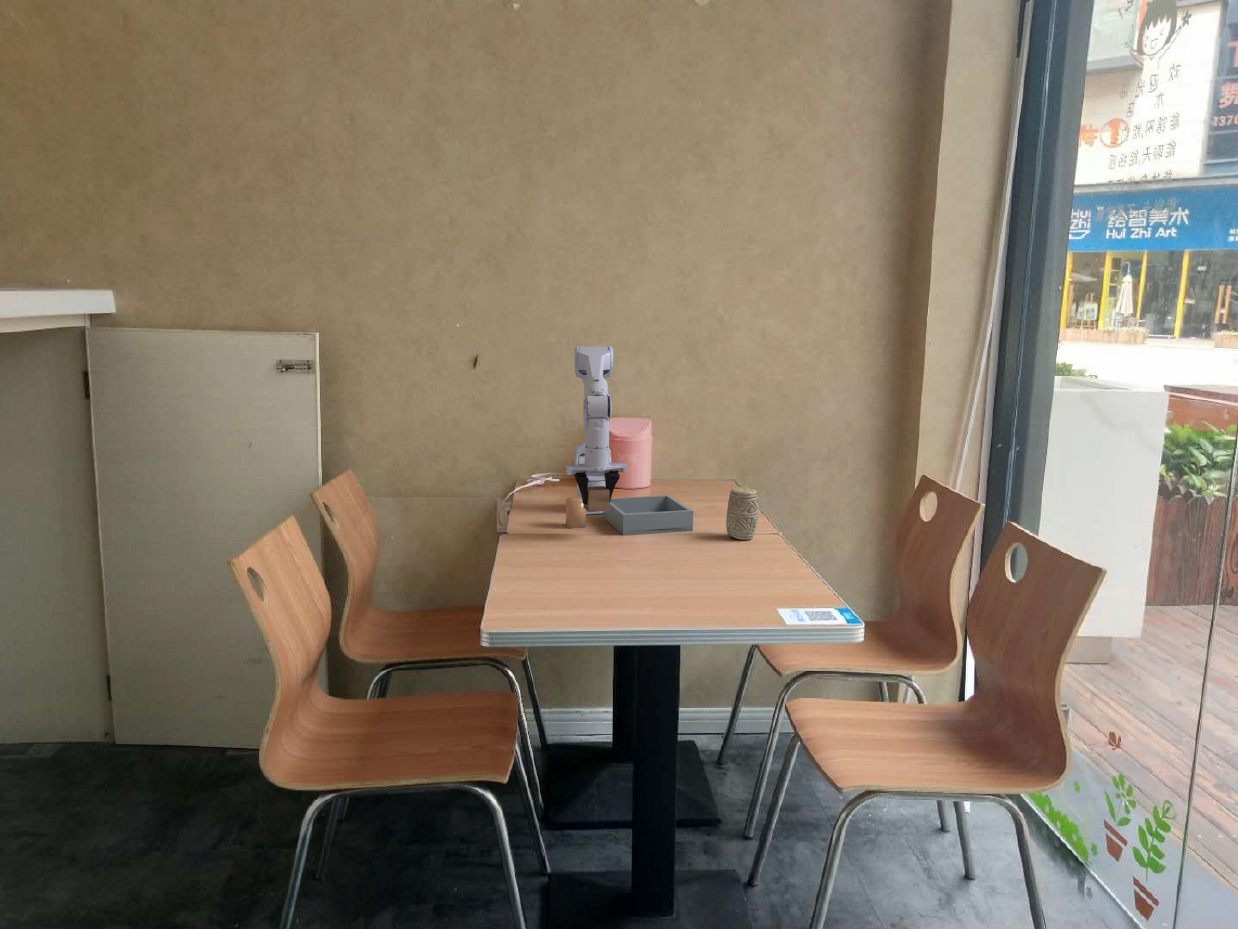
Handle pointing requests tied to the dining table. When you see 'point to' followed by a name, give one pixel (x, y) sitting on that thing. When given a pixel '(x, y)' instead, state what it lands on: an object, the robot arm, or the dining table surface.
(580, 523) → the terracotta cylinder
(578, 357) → the robot arm
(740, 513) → the carving
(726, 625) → the dining table surface
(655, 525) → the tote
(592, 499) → the walnut cube
